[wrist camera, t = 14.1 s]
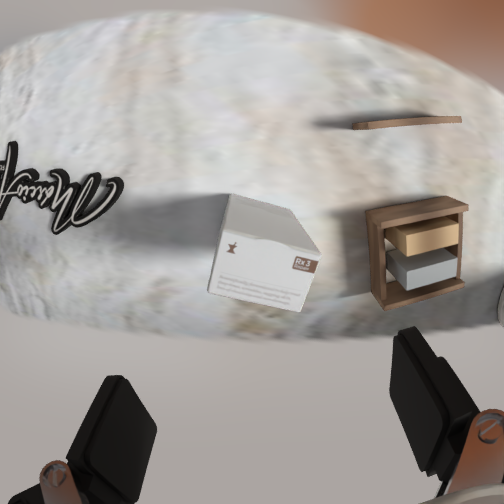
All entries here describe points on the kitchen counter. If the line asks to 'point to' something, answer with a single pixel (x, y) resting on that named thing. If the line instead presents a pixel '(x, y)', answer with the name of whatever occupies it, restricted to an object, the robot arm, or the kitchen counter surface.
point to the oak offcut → (423, 235)
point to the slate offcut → (421, 267)
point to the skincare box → (263, 255)
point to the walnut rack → (402, 214)
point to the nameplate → (55, 192)
